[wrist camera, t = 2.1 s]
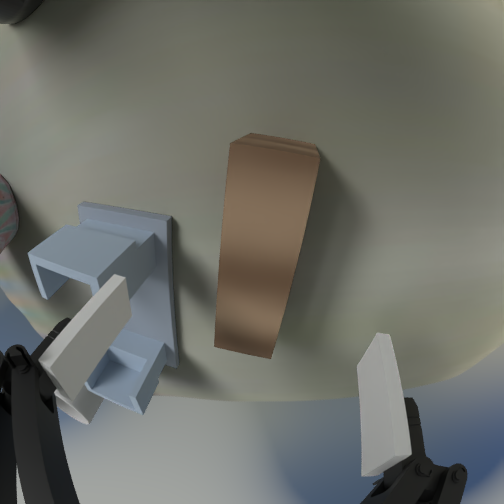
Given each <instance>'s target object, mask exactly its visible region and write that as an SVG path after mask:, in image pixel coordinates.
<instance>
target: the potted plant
mask: <svg viewBox="0 0 504 504" xmlns="http://www.w3.org/2000/svg"><path fill="white" fill-rule="evenodd" d="M18 227H19V215H18V210H17V205H16V202H15V199H14V196H13V193H12V191H11V188H10V185H9V184H8V183H7V181H6V180H5V179H4V178H3V177H2V175H1V174H0V253H1V252H2V251H3V250H4V248H5V247H6V246H7V245H8V244H9V242H10V241H11V240H12V239H13V238H14V236H15V235H16V232H17V230H18Z"/></svg>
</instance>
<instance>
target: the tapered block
mask: <svg viewBox="0 0 504 504" xmlns="http://www.w3.org/2000/svg"><path fill="white" fill-rule="evenodd" d="M319 163H320V156H319V153H318V151H317V148H316V145H315V144H312V143H307V142H302V141H296V140H291V139H285V138H280V137H274V136H267V135H261V134H254V133H250V134H248V135H246V136H244V137H242V138H240V139H238V140H235V141H234V142H232V143H230V150H229V160H228V169H227V179H226V189H225V200H224V211H223V222H222V234H221V247H220V260H219V273H218V288H217V304H216V321H215V340H214V347H217V348H222V349H226V350H230V351H235V352H239V353H244V354H248V355H253V356H258V357H263V358H268V359H271V357H272V354H273V350H274V347H275V343H276V340H277V336H278V333H279V329H280V326H281V322H282V319H283V315H284V311H285V308H286V304H287V300H288V296H289V293H290V289H291V285H292V281H293V277H294V273H295V269H296V265H297V261H298V257H299V253H300V249H301V245H302V241H303V236H304V232H305V228H306V224H307V219H308V215H309V210H310V206H311V201H312V197H313V192H314V187H315V183H316V178H317V173H318V168H319Z"/></svg>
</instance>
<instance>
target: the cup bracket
mask: <svg viewBox="0 0 504 504" xmlns="http://www.w3.org/2000/svg"><path fill="white" fill-rule="evenodd" d="M78 212H79V219H80V224H79V225H78V226H77V227H75V226H70V225H65V226H64V227H62V228H61V229H59V230H58V231H56V232H55V233H54V234H52V235H51V236H49V237H48V238H47V239H45V240H44V241H43V242H41V243H40V244H39V245H37V246H36V247H35V248H33V249H32V250H31V251H29V252H28V256H29V260H30V263H31V266H32V269H33V273H34V276H35V279H36V281H37V284H38V287H39V290H40V293H41V295H42V297H43V298H45V299H47V300H48V299H49V298H50V297H51V296H52V295H53V294H54V293H55V292H56V291H57V290H58V289H59V288H60V287H61V286H62V285H63V284H64V283H65V282H66V281H67V280H68V279H69V278H72V279H75V280H78V281H80V282H83V283H86V284H89V285H90V287H91V290H92V294H93V296H94V295H95V294H96V293H97V292H98V291H99V289H100V288H101V287H102V286H103V285H104V284H105V283H106V282H107V281H108V280H109V279H110V278H111V277H112V276H113V275H114V274H116V275H119V276H122V277H126V283H127V289H128V295H129V301H130V306H131V312H132V316H131V318H130V319H129V321H128V322H127V323H126V325H125V326H124V327H123V329H122V330H121V332H120V333H119V334H118V336H117V337H116V339H115V340H114V341H113V343H112V344H111V346H110V347H109V348H108V350H107V351H106V353H105V354H104V356H103V357H102V359H101V360H100V361H99V363H98V364H97V366H96V367H95V369H94V370H93V372H92V373H91V375H90V376H89V378H88V379H87V381H86V382H85V386H86V387H87V389H88V390H89V391H91V392H92V393H94V394H96V395H99V396H101V397H103V398H105V399H107V400H109V401H111V402H113V403H115V404H118V405H120V406H122V407H125V408H127V409H129V410H132V411H134V412H137V413H139V414H142V415H143V414H144V413H145V410H146V408H147V406H148V404H149V402H150V400H151V398H152V395H153V393H154V391H155V389H156V387H157V385H158V383H159V381H158V378H159V376H160V374H161V372H162V369H163V367H164V365H167V366H170V367H173V368H176V369H177V367H178V365H179V355H178V345H177V334H176V321H175V307H174V291H173V268H172V216H167V215H161V214H156V213H150V212H144V211H138V210H132V209H126V208H120V207H114V206H108V205H102V204H96V203H90V202H82V203H81V204H79V205H78Z"/></svg>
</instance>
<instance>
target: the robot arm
mask: <svg viewBox="0 0 504 504" xmlns="http://www.w3.org/2000/svg"><path fill="white" fill-rule="evenodd" d="M42 1H43V0H0V24H14V23H18V22H20V21H22V20H23V19H25V18H26V17H27V16H28V15H30V14H31V13H32V12H33V11H34V10H35V9H36V8H37V7H38V6H39V5H40V4H41V3H42ZM131 316H132V312H131V306H130V301H129V295H128V289H127V283H126V277H122V276H119V275H116V274H114V275H113V276H112V277H111V278H110V279H109V280H108V281H107V282H106V283H105V284H104V285H103V286H102V287H101V288H100V289H99V291H98V292H97V293H96V294H95V295H94V296H93V297H92V298H91V299H90V300H89V301H88V302H87V303H86V304H85V306H84V307H83V308H82V309H81V310H80V311H79V312H78V313H77V314H76V316H75V317H74V318H73V319H72V320H71V319H69V318H66V319H64V320H62V321H61V322H59V323H58V324H57V325H56V326H55V327H54V329H53V331H51V332H50V333H49V334H48V336H47V337H46V338H45V339H44V340H43V341H42V342H41V344H40V345H39V346H38V347H37V348H36V350H35V351H34V352H33V353H32V354H31V355H29V354H28V352H27V350H26V349H25V347H24V346H22V345H13V346H11V347H10V348H8V350H7V351H6V352H5V356H4V355H3V353H2V352H1V351H0V392H1V388H3V389H2V392H1V393H0V504H17V491H16V468H18V473H19V478H20V483H21V487H22V492H23V496H24V499H25V503H26V504H80V503H79V500H78V497H77V494H76V491H75V488H74V485H73V482H72V479H71V474H70V471H69V467H68V463H67V459H66V455H65V451H64V446H63V441H62V436H61V430H60V425H59V418H58V412H57V404H56V396H55V393H54V392H55V390H56V389H57V390H58V391H59V393H60V394H61V395H62V396H63V397H65V398H67V399H68V400H70V401H72V402H73V401H74V399H75V398H76V396H77V395H78V393H79V391H80V390H81V388H82V387H83V385H84V384H85V382H86V381H87V379H88V378H89V376H90V375H91V373H92V372H93V370H94V369H95V367H96V366H97V364H98V363H99V361H100V360H101V359H102V357H103V356H104V354H105V353H106V351H107V350H108V348H109V347H110V346H111V344H112V343H113V341H114V340H115V339H116V337H117V336H118V334H119V333H120V332H121V330H122V329H123V327H124V326H125V325H126V323H127V322H128V321H129V319H130V318H131ZM357 376H358V387H359V400H360V417H361V443H362V445H361V446H362V476H377V475H379V474H381V473H382V472H384V477H383V478H381V479H379V480H377V481H376V482H374V483H373V485H376V484H377V485H376V486H375V487H374V489H373V490H372V491H371V492H370V493H369V494H368V495H367V497H366V498H365V499H364V500H363V501H362V502H361V503H360V504H460V502H461V499H462V495H463V492H464V488H465V484H466V481H467V470H466V468H465V467H464V466H463V465H462V464H455V465H452V466H451V467H449V468H448V467H443V466H438V465H435V464H433V462H432V461H431V459H430V458H428V457H426V454H425V449H424V442H423V435H422V429H421V426H420V424H421V422H420V418H419V411H418V407H417V405H416V403H415V401H414V400H413V398H404V396H403V391H402V386H401V381H400V376H399V371H398V367H397V362H396V358H395V353H394V349H393V345H392V341H391V337H390V334H383V333H376V335H375V337H374V339H373V340H372V342H371V344H370V345H369V347H368V349H367V350H366V352H365V354H364V355H363V357H362V359H361V360H360V362H359V363H358V365H357ZM16 466H17V467H16Z"/></svg>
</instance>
